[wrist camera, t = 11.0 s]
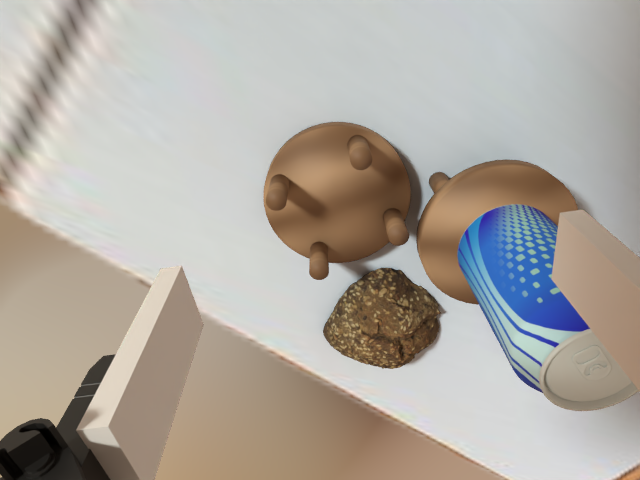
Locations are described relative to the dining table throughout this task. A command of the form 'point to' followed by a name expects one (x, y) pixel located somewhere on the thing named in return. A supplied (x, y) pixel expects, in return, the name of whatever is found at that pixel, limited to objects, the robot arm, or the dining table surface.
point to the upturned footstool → (337, 194)
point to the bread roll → (383, 320)
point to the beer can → (537, 310)
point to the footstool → (479, 212)
